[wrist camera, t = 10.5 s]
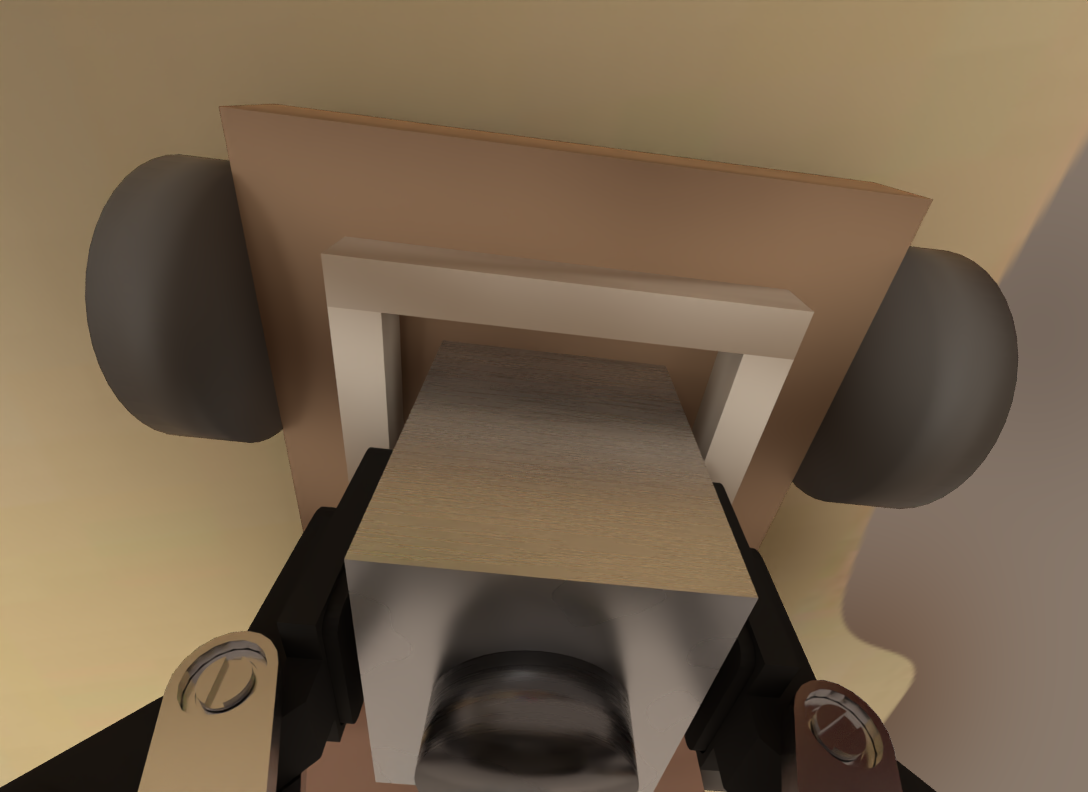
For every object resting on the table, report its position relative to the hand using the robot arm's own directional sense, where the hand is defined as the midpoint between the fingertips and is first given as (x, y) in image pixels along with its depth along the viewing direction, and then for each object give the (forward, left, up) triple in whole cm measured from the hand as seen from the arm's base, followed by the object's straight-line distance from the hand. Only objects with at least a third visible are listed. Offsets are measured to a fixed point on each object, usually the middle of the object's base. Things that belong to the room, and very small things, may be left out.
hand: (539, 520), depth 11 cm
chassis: (+4, 0, -6) cm, 7 cm away
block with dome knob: (0, 0, -2) cm, 2 cm away
